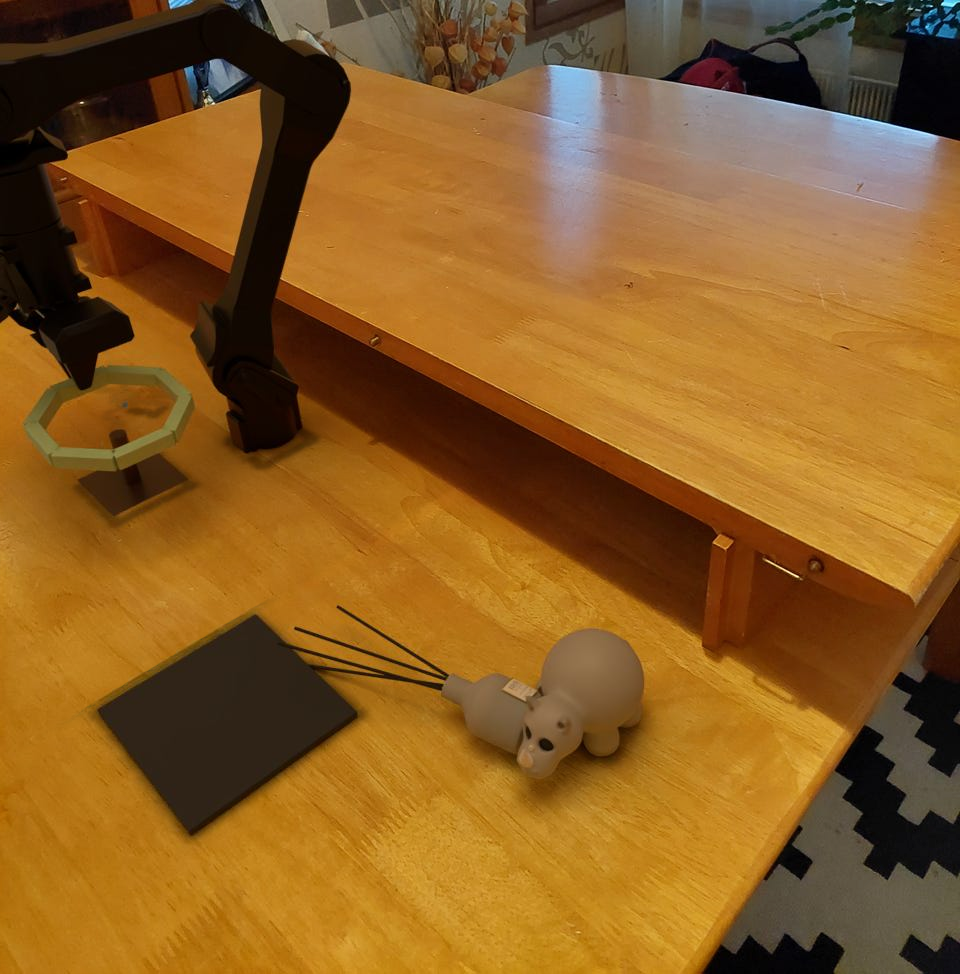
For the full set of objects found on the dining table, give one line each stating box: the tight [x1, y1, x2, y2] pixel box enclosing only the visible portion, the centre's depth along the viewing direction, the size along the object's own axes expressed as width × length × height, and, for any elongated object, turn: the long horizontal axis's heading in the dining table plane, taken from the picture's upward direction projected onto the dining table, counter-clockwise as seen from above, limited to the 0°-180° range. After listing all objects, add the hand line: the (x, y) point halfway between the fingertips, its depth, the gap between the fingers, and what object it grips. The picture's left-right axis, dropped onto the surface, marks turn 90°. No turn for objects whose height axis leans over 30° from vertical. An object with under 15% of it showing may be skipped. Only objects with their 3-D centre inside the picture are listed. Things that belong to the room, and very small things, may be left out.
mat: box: [97, 613, 359, 836], centre depth 70 cm, size 14×14×1 cm
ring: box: [22, 364, 196, 471], centre depth 81 cm, size 13×13×1 cm
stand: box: [76, 428, 189, 517], centre depth 90 cm, size 8×8×6 cm
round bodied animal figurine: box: [515, 627, 645, 780], centre depth 64 cm, size 7×12×8 cm, turn 139°
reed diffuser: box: [277, 604, 544, 756], centre depth 69 cm, size 10×7×20 cm
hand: (81, 385), depth 85 cm, fingers closed on ring, 1 cm apart
